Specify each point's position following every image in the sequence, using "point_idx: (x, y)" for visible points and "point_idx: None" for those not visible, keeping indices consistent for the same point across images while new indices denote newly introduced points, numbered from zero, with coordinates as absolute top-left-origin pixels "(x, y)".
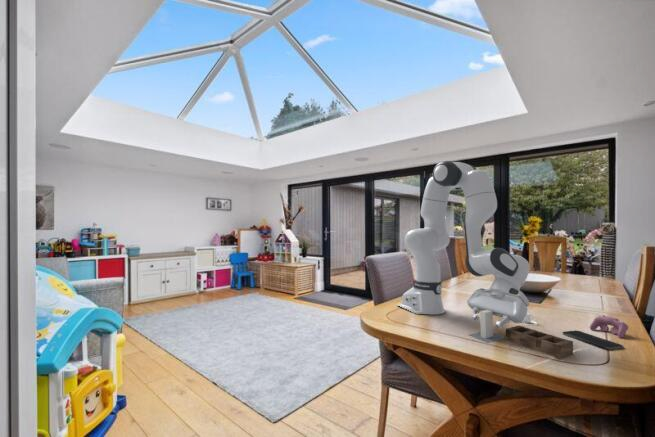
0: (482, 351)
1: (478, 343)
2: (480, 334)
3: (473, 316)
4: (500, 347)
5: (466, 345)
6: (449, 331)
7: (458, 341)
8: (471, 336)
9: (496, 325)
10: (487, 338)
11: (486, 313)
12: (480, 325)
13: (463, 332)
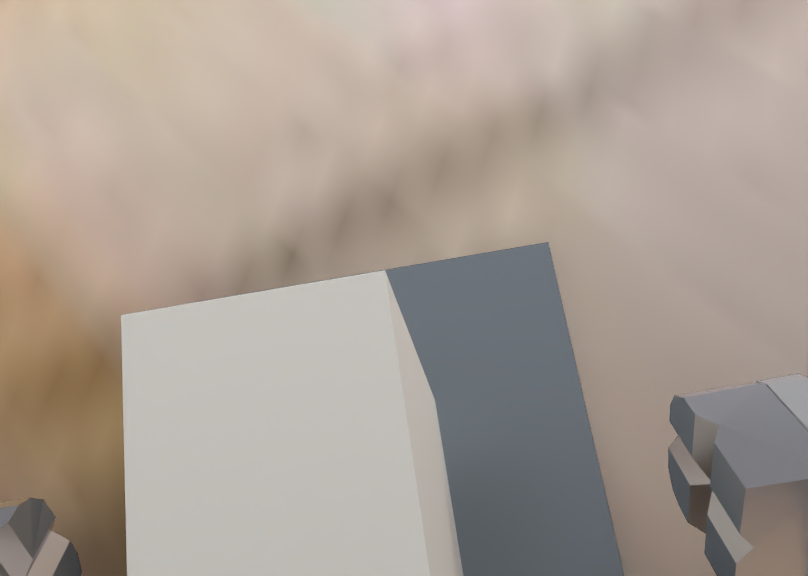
0: (70, 74)
1: (266, 199)
2: (507, 467)
3: (766, 400)
4: (46, 380)
5: (274, 19)
6: (802, 117)
7: (412, 7)
8: (476, 254)
9: (8, 504)
10: None
11: (148, 407)
12: (423, 373)
13: (713, 299)
